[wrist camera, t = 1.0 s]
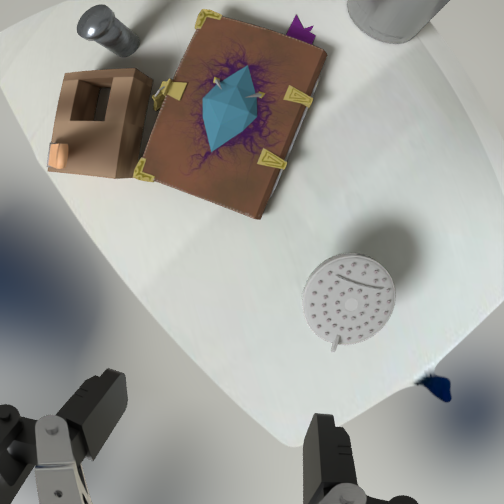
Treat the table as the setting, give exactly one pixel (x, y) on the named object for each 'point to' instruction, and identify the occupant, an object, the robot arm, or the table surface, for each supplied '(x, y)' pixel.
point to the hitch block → (102, 122)
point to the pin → (107, 31)
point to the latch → (57, 155)
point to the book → (232, 112)
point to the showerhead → (348, 299)
